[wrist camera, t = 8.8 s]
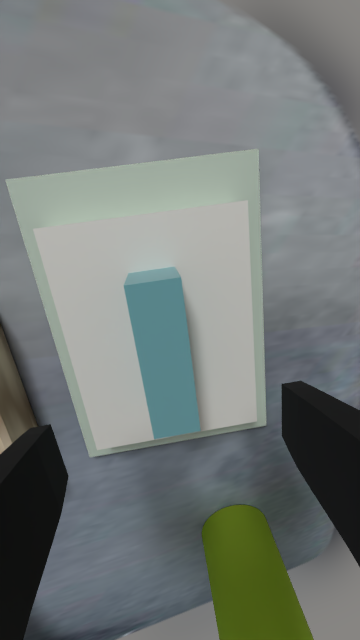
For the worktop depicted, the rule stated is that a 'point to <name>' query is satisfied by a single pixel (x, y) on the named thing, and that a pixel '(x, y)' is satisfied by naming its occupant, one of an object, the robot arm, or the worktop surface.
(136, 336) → the lid
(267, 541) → the soap dispenser
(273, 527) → the worktop surface
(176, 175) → the mat
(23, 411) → the storage box
